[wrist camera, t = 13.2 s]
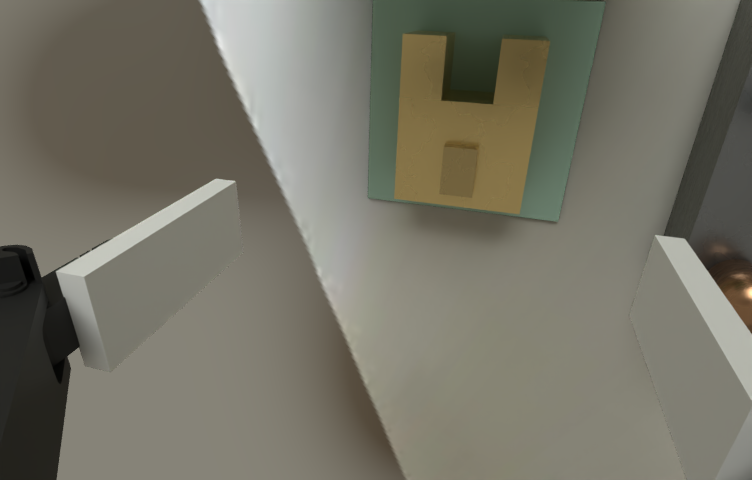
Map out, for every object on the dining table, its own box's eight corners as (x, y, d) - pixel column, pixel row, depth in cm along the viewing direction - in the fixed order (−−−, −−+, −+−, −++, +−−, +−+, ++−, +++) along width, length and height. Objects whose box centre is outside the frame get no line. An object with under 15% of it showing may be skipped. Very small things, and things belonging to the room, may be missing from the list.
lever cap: (416, 30, 31) (399, 34, 27) (545, 36, 30) (551, 41, 25) (407, 177, 36) (391, 203, 31) (519, 190, 34) (519, 219, 29)
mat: (374, -6, 31) (373, -6, 31) (604, 1, 28) (606, 1, 28) (369, 196, 38) (367, 197, 37) (557, 219, 35) (558, 221, 34)
